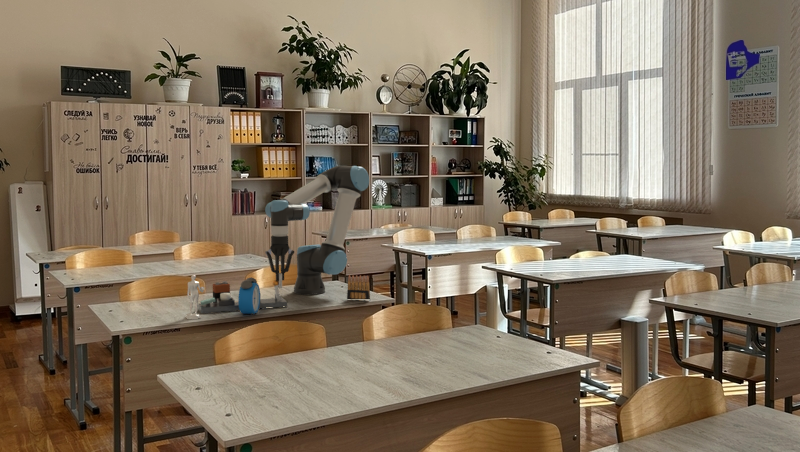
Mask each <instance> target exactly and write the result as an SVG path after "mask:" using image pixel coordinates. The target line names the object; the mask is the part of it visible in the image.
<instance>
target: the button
mask: <svg viewBox="0 0 800 452" xmlns="http://www.w3.org/2000/svg"><path fill="white" fill-rule="evenodd" d="M231 294H232V293H231V292H230V293H221V294H220V301H228V300H231V296H232V295H231Z"/></svg>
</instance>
